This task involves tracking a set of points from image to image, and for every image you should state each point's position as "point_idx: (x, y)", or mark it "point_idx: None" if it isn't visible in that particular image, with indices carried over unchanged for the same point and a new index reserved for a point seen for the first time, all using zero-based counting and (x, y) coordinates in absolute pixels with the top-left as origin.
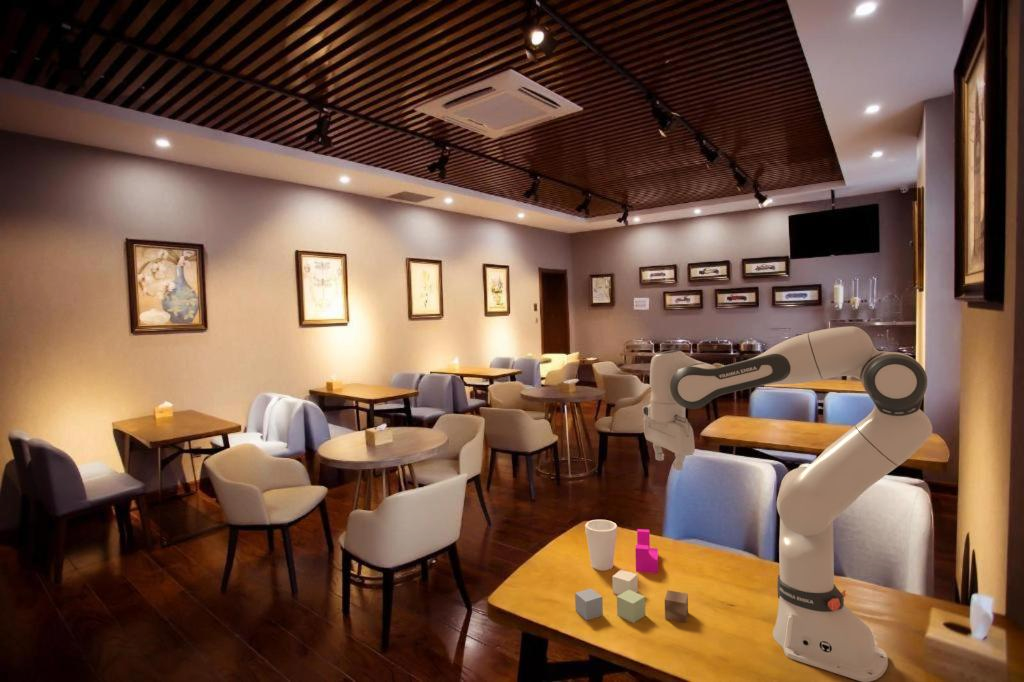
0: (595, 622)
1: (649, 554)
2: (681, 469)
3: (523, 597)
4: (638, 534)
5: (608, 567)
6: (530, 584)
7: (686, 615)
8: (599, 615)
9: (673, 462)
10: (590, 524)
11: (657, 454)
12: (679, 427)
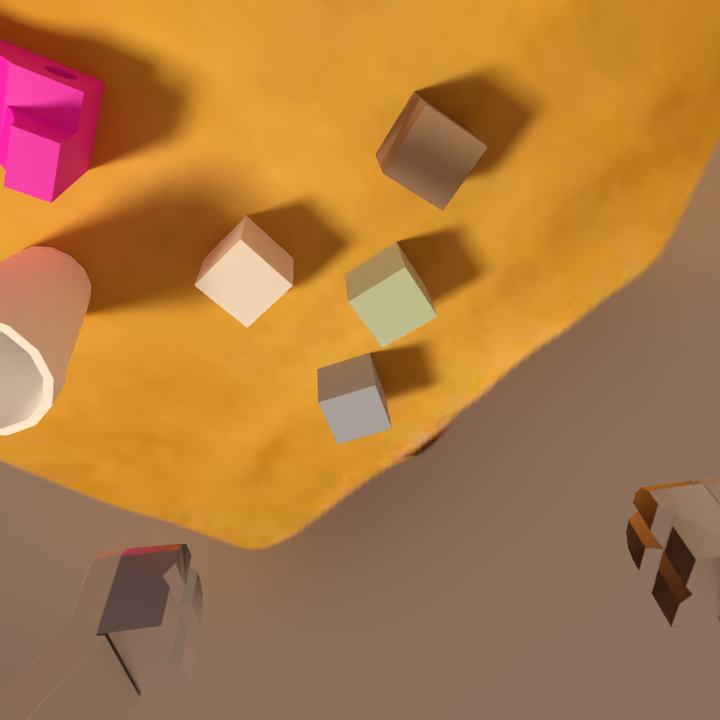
0: (397, 376)
1: (19, 107)
2: (718, 481)
3: (245, 504)
4: None
5: (82, 277)
6: (175, 486)
7: (456, 121)
8: (373, 364)
9: (674, 620)
10: None
11: (172, 685)
12: None
